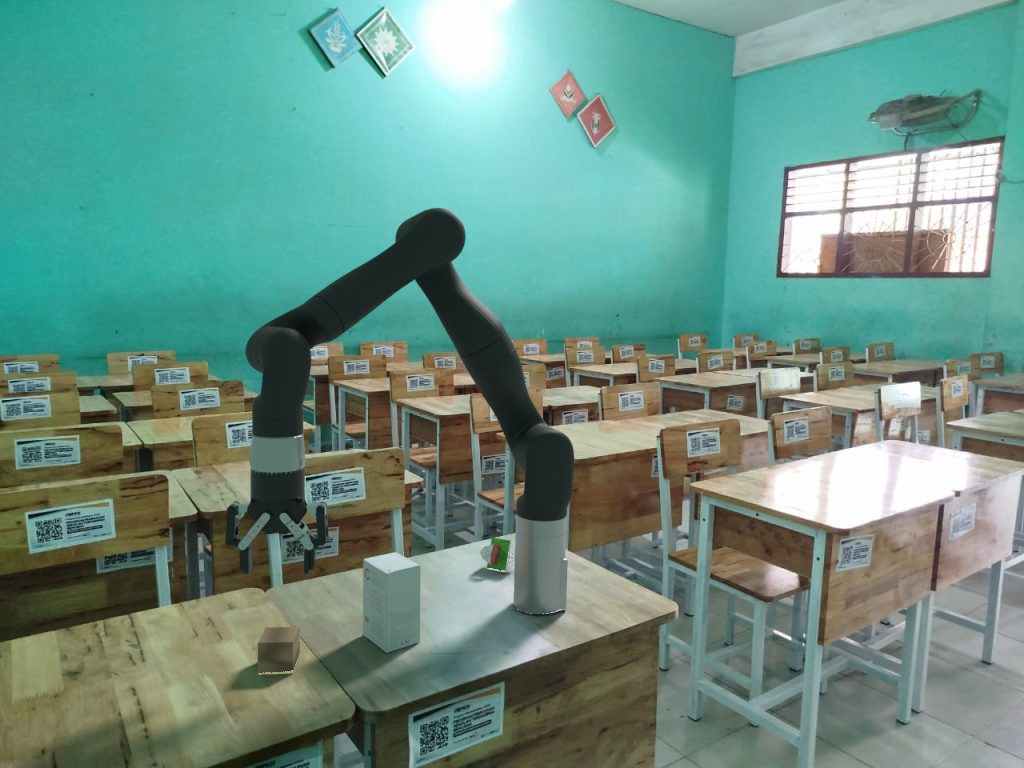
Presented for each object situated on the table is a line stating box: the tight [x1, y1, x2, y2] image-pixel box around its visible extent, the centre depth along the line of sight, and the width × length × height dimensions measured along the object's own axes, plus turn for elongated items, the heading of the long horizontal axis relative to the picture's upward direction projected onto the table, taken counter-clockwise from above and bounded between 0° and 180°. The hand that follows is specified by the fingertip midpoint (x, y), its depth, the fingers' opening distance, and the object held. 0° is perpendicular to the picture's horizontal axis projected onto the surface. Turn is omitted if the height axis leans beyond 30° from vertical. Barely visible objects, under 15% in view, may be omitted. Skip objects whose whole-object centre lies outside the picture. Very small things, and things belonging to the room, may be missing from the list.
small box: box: [362, 551, 421, 653], centre depth 115 cm, size 8×6×13 cm
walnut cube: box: [257, 626, 301, 674], centre depth 106 cm, size 5×5×5 cm
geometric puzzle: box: [479, 537, 515, 571], centre depth 147 cm, size 7×7×8 cm
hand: (277, 572), depth 104 cm, fingers open, 8 cm apart
